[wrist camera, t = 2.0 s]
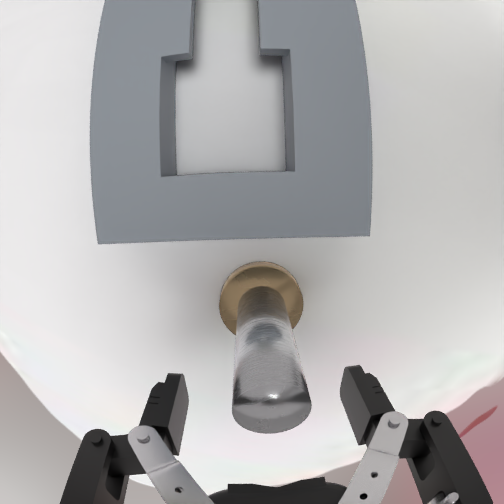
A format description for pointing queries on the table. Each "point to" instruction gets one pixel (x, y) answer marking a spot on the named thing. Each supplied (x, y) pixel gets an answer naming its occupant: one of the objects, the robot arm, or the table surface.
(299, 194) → the keyhole plate
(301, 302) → the steel peg
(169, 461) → the robot arm
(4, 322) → the table surface
